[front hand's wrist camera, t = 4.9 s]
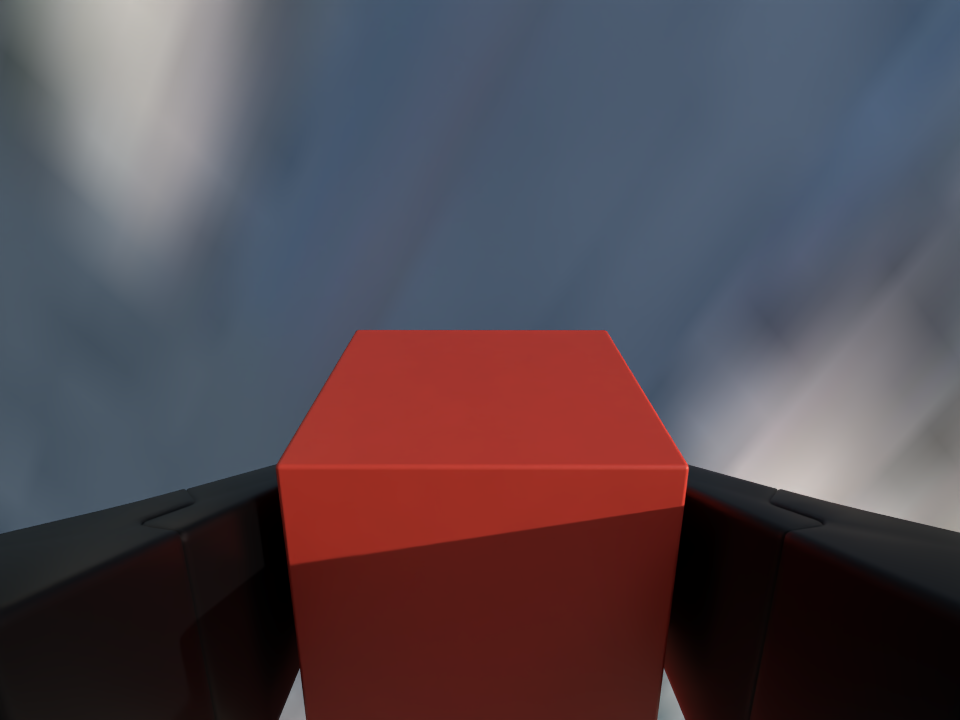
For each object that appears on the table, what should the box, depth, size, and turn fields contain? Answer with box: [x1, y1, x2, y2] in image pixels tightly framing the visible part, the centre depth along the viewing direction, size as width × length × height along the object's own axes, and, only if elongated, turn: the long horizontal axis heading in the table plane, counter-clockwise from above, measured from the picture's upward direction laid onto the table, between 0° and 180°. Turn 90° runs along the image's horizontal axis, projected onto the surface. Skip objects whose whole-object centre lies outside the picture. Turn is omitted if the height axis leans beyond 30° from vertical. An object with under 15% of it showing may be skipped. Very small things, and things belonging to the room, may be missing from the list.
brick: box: [276, 330, 689, 720], centre depth 10 cm, size 4×5×5 cm
